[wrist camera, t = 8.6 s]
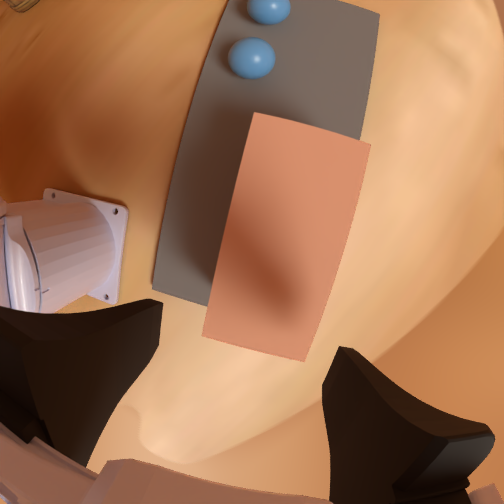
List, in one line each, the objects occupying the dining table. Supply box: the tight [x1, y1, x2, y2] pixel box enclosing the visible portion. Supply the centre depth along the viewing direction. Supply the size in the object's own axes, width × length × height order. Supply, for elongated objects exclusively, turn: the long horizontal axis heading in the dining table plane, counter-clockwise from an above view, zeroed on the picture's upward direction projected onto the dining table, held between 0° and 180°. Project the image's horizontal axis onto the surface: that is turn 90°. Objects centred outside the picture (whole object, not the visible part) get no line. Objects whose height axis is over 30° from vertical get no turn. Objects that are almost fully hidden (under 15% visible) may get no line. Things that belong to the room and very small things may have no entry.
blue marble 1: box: [247, 0, 291, 25], centre depth 14 cm, size 3×3×3 cm
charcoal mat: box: [152, 0, 380, 307], centre depth 18 cm, size 12×26×1 cm, turn 166°
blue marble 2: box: [228, 37, 275, 79], centre depth 15 cm, size 3×3×3 cm
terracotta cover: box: [202, 112, 371, 362], centre depth 16 cm, size 5×11×6 cm, turn 166°
